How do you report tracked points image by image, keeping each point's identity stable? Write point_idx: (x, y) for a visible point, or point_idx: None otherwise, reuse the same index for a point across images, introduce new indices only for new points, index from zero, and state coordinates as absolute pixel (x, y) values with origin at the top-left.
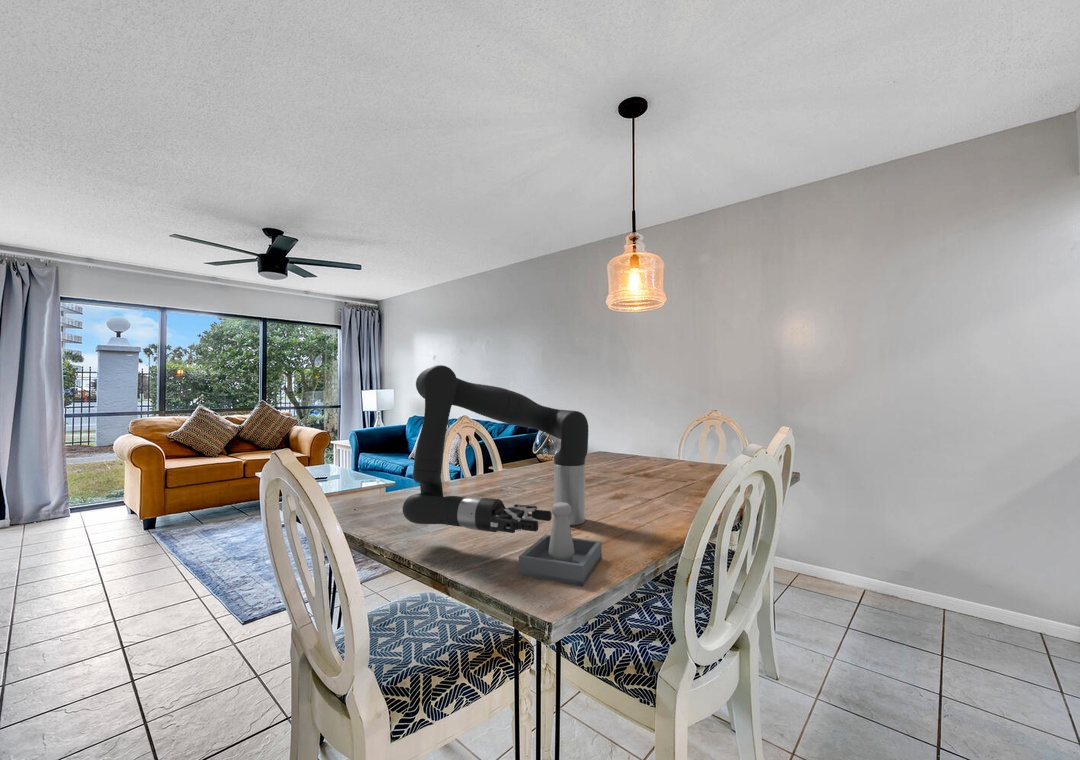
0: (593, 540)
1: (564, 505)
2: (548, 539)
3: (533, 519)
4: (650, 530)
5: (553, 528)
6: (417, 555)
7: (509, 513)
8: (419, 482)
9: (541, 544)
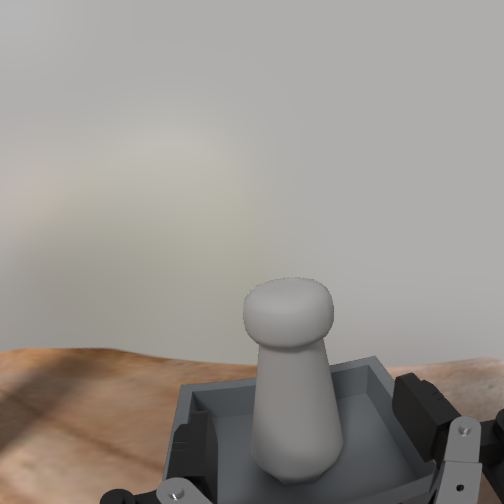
0: (179, 398)
1: (303, 278)
2: None
3: None
4: (14, 373)
5: (324, 389)
6: None
7: (471, 499)
8: None
9: None
